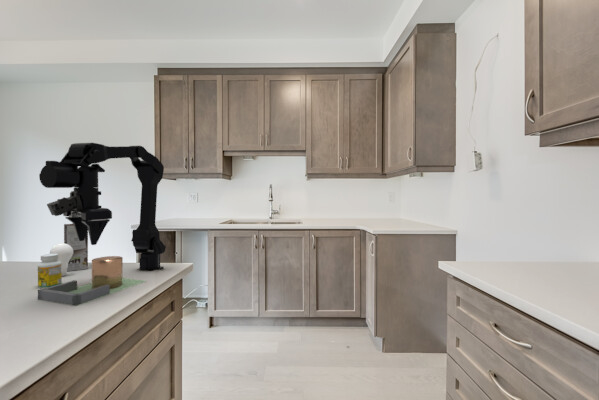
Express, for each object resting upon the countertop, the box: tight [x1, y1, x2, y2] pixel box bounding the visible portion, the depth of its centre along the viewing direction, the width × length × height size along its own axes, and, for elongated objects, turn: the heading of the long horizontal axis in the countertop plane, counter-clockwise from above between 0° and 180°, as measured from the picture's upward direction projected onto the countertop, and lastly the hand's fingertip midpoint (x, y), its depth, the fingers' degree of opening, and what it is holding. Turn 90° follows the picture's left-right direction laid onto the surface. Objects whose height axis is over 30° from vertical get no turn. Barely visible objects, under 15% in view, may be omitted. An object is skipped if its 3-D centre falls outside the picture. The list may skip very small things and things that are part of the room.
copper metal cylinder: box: [91, 255, 123, 289], centre depth 89 cm, size 8×8×8 cm
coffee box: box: [63, 223, 89, 272], centre depth 111 cm, size 9×6×16 cm
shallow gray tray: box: [37, 279, 111, 307], centre depth 80 cm, size 9×13×2 cm
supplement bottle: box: [37, 253, 63, 289], centre depth 89 cm, size 5×5×10 cm
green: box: [37, 277, 147, 307], centre depth 86 cm, size 22×14×1 cm, turn 163°
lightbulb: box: [49, 242, 73, 278], centre depth 100 cm, size 6×6×11 cm
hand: (87, 242), depth 86 cm, fingers open, 9 cm apart
